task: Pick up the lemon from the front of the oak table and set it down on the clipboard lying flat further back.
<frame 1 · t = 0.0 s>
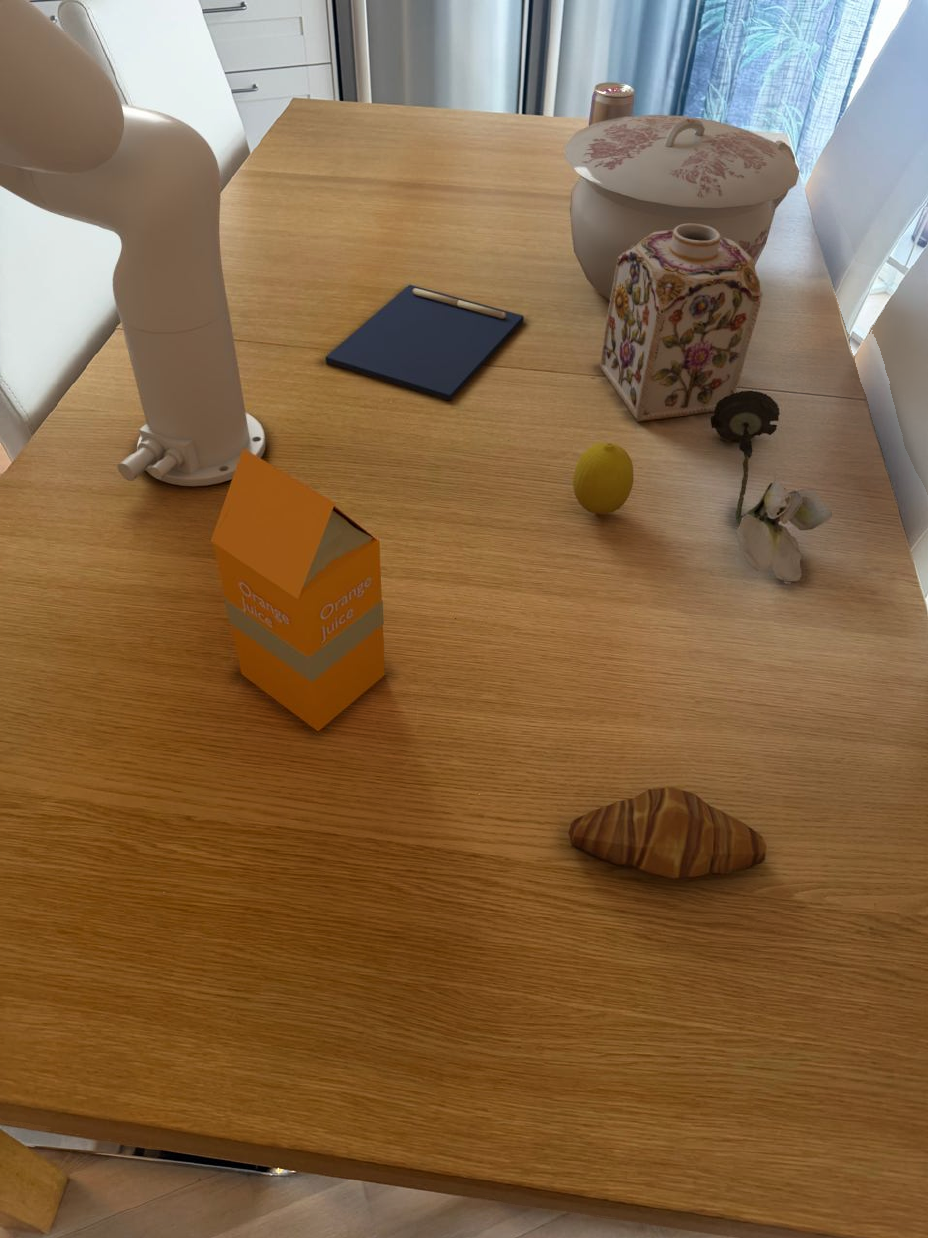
artificial flower: (756, 508, 91), on the table
clipboard: (428, 341, 110), on the table
chamber pot: (656, 291, 121), on the table
croissant: (662, 850, 65), on the table
lemon: (596, 514, 90), on the table
decorative jar: (663, 390, 105), on the table
orange juice: (313, 676, 74), on the table
beverage can: (599, 198, 141), on the table
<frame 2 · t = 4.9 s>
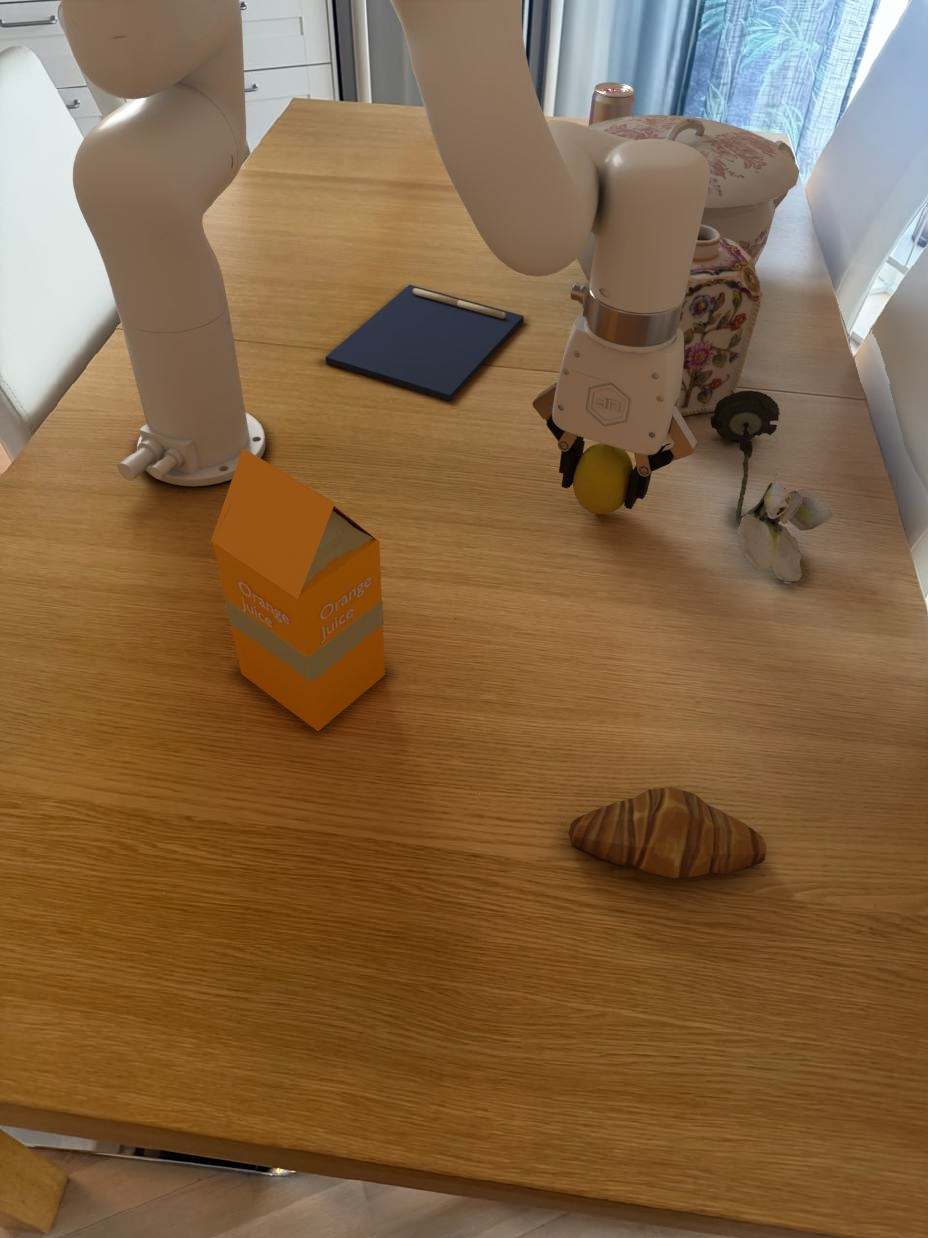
hand: (601, 488, 87), 3 cm above the table, tool pointing down, fingers closed on lemon, 5 cm apart
lemon: (596, 514, 90), on the table, touching gripper
everything else where it was.
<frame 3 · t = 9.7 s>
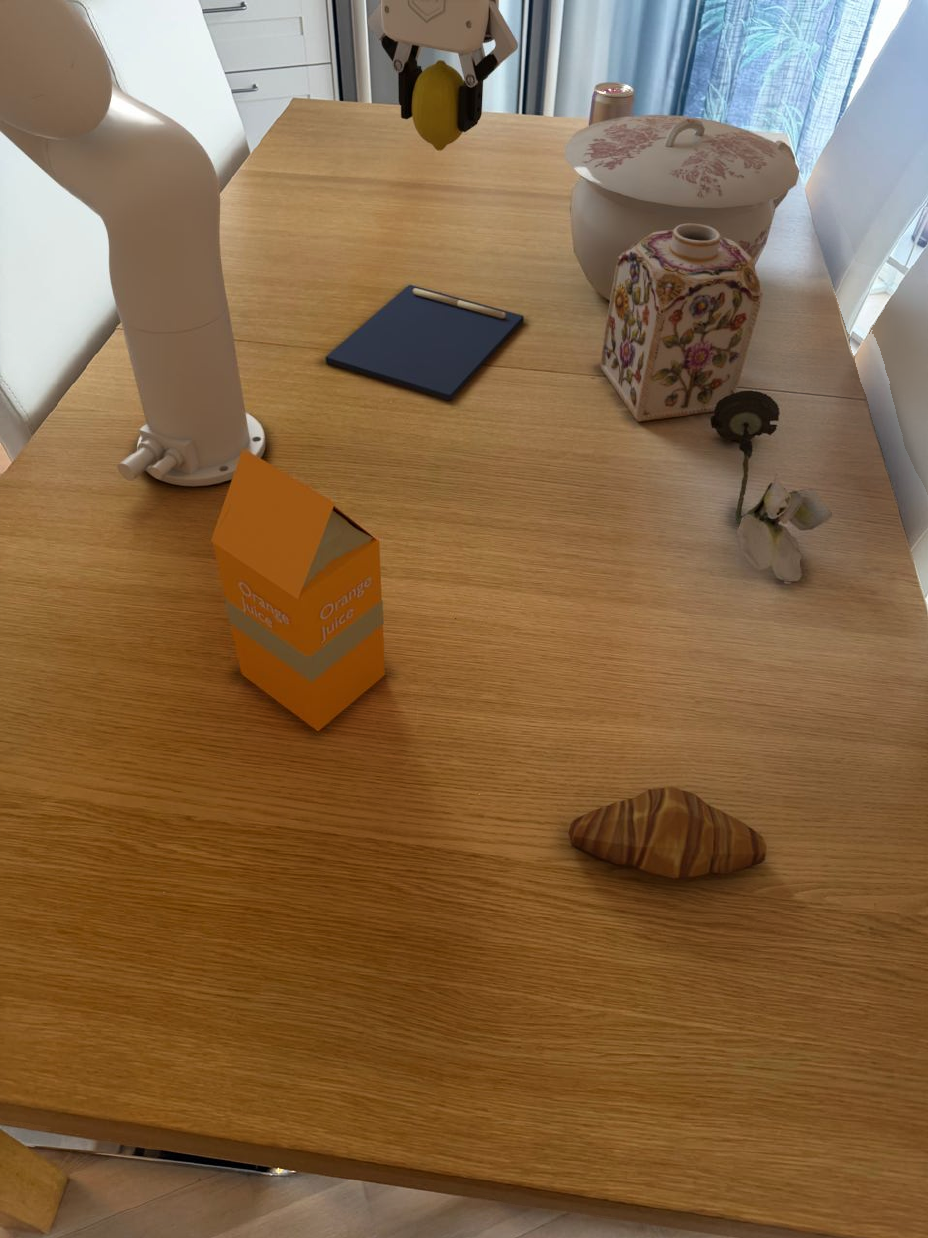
hand: (439, 119, 91), 25 cm above the table, tool pointing down, fingers closed on lemon, 5 cm apart
lemon: (439, 152, 93), point 22 cm above the table, touching gripper
everything else where it was.
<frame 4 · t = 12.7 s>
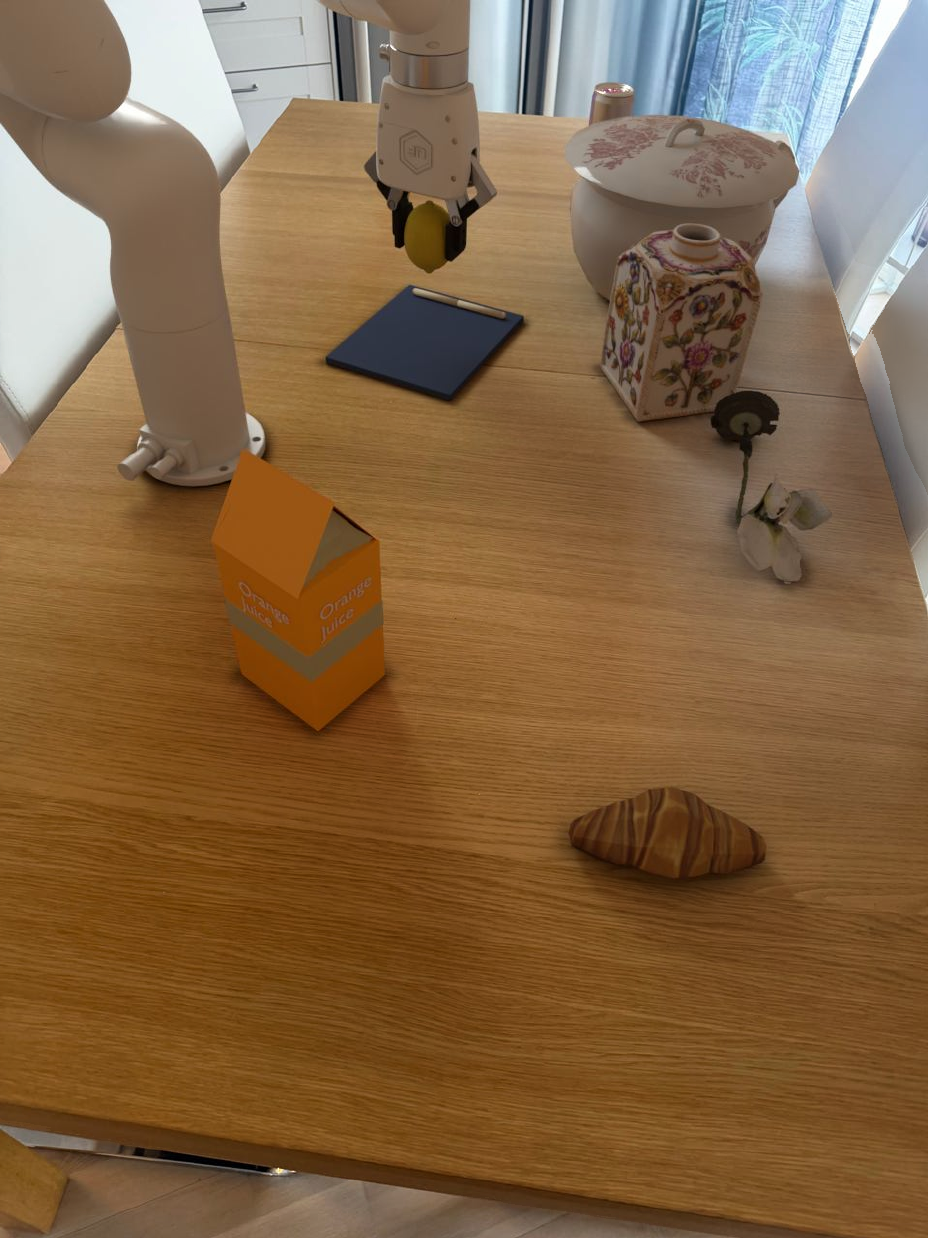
hand: (429, 248, 102), 11 cm above the table, tool pointing down, fingers closed on lemon, 5 cm apart
lemon: (429, 274, 104), point 8 cm above the table, touching gripper
everything else where it was.
when the fingers open (4 cm above the table, at t = 14.9 s): lemon stays where it is, resting on clipboard.
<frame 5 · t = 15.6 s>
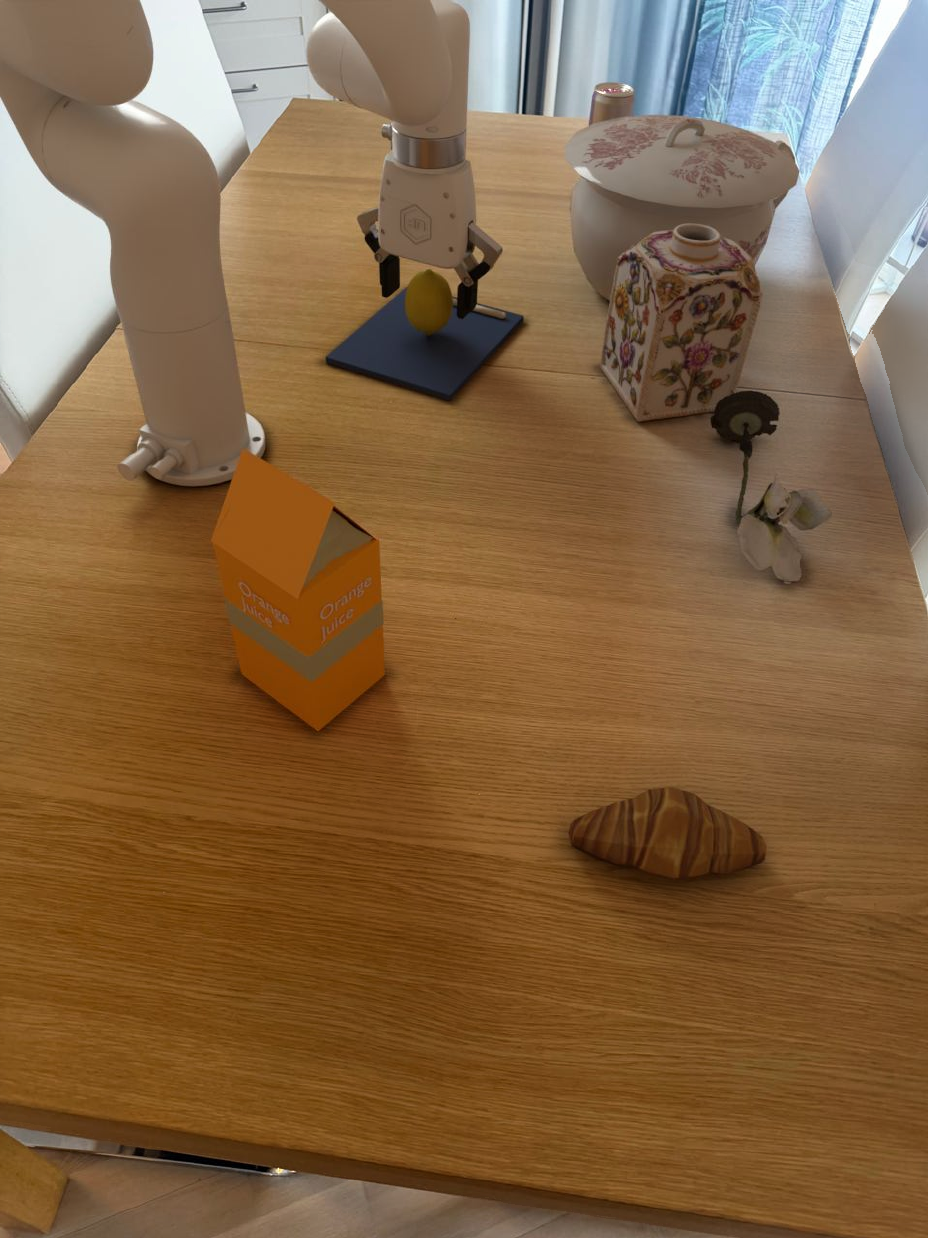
hand: (427, 302, 107), 5 cm above the table, tool pointing down, fingers open, 9 cm apart
lemon: (428, 336, 110), point 1 cm above the table, touching clipboard
everything else where it was.
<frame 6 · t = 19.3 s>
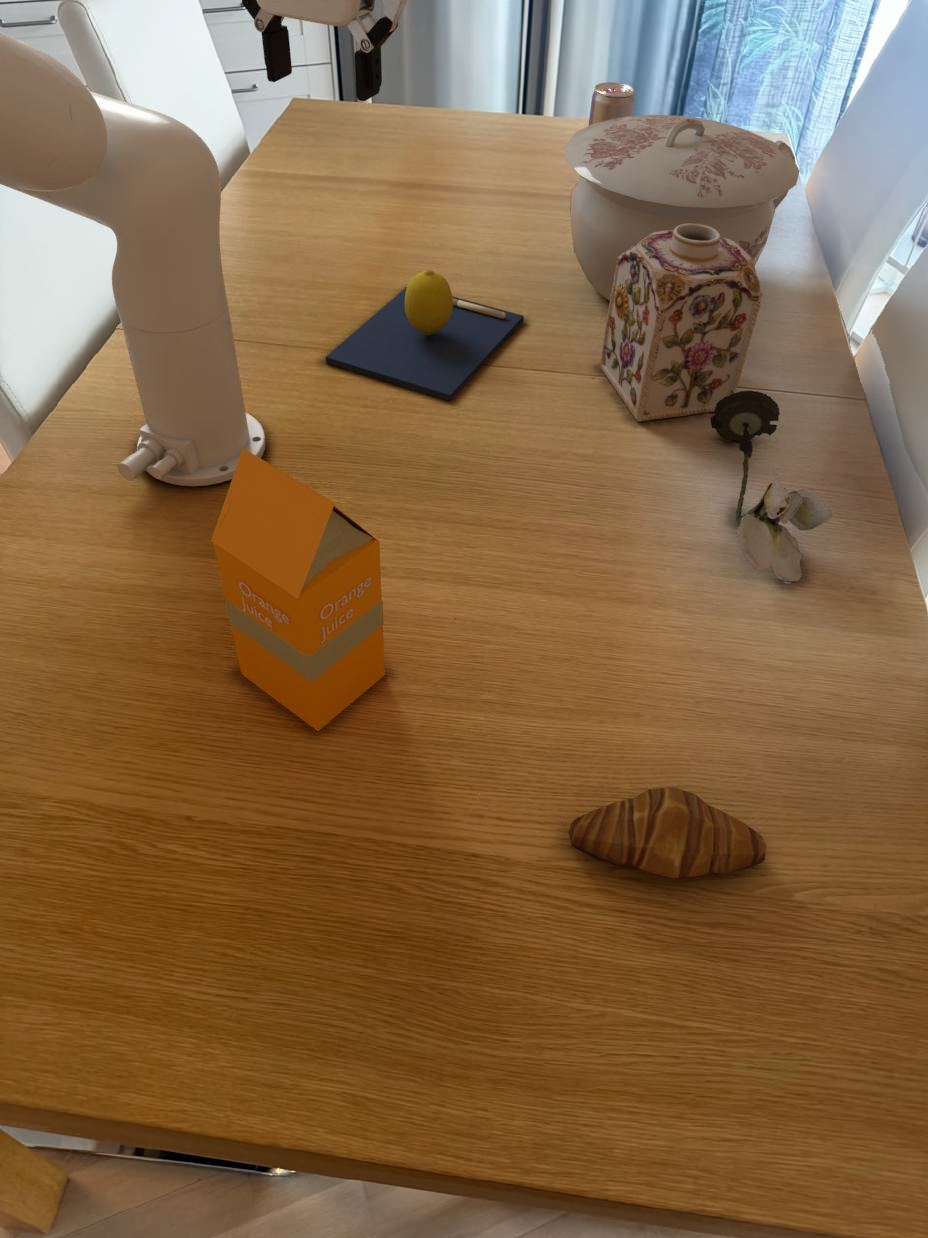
hand: (323, 86, 87), 28 cm above the table, tool pointing down, fingers open, 9 cm apart
nothing on the table moved.
at the end: lemon inside the target area on the clipboard (0.1 cm from its centre), point 0.6 cm above the clipboard's base; lemon touching clipboard; the gripper is holding nothing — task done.
